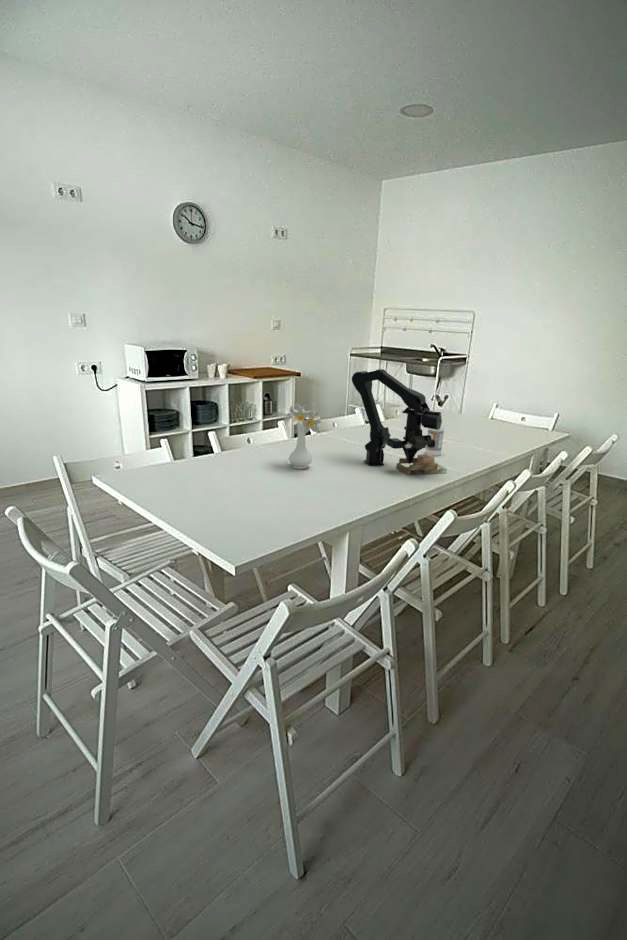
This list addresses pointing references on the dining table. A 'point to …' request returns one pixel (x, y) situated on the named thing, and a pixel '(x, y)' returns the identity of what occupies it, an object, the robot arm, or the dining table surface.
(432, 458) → the block
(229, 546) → the dining table surface
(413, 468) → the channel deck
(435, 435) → the bath foam
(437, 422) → the robot arm
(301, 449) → the flower vase
